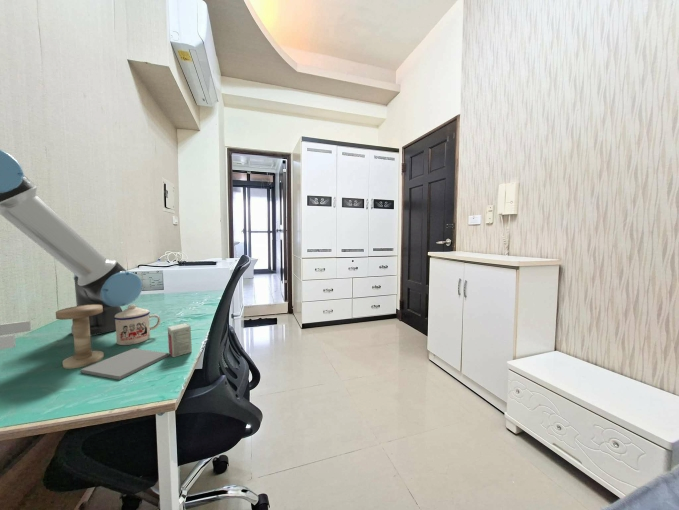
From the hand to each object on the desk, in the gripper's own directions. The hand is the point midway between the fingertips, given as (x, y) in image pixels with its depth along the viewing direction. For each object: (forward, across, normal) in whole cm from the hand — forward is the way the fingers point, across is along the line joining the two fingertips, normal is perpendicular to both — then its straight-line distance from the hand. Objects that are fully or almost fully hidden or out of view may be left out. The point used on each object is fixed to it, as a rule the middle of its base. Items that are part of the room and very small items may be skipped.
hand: (23, 332), depth 65 cm
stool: (+10, 0, -10) cm, 15 cm away
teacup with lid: (+23, -10, -10) cm, 27 cm away
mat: (+19, +9, -10) cm, 24 cm away
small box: (+31, +11, -10) cm, 35 cm away
